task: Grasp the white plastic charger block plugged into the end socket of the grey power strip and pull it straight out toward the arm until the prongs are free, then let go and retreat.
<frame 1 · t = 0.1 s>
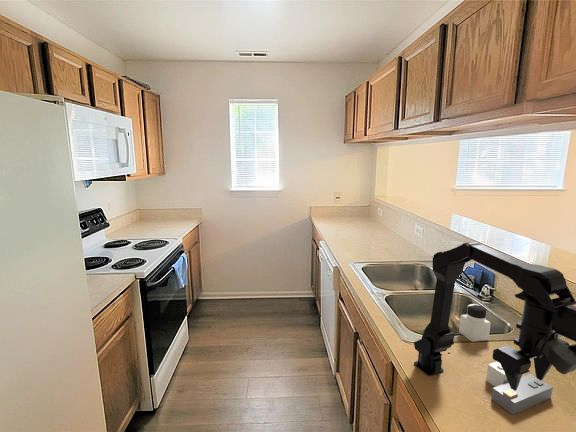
hand: (526, 384, 77), 15 cm above the worktop, fingers open, 9 cm apart
medicine bottle: (473, 336, 124), on the worktop
power strip: (521, 398, 93), on the worktop
charger: (498, 383, 99), on the worktop
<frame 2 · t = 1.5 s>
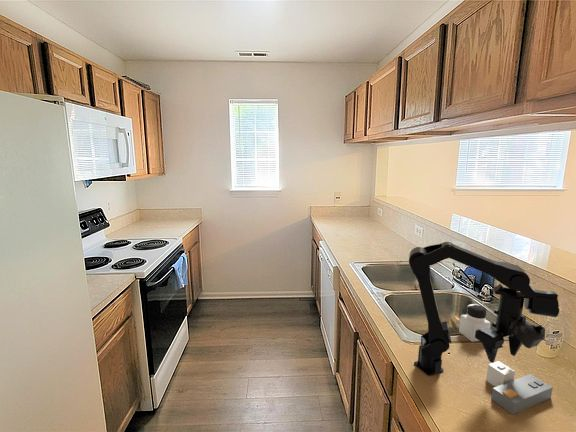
hand: (502, 358, 97), 8 cm above the worktop, fingers open, 9 cm apart
nothing on the worktop moved.
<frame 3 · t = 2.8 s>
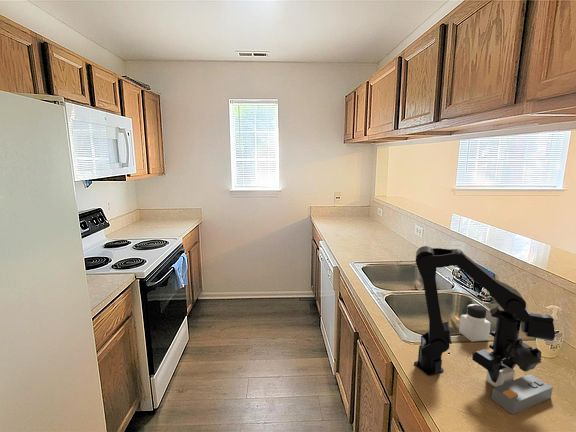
hand: (499, 379, 98), 1 cm above the worktop, fingers closed on charger, 4 cm apart
charger: (498, 383, 99), on the worktop, touching gripper
everything else where it was.
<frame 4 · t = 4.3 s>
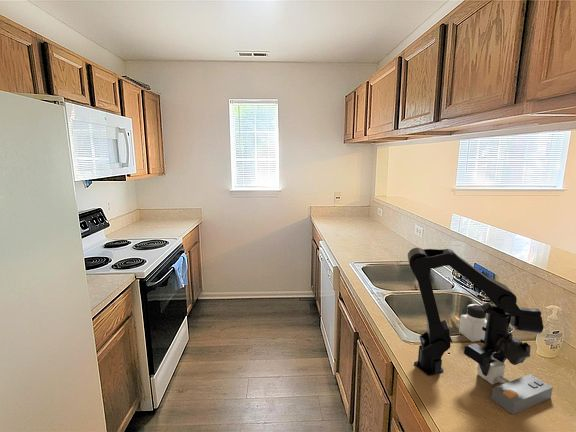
hand: (490, 373, 101), 1 cm above the worktop, fingers closed on charger, 4 cm apart
charger: (489, 377, 101), on the worktop, touching gripper
everything else where it was.
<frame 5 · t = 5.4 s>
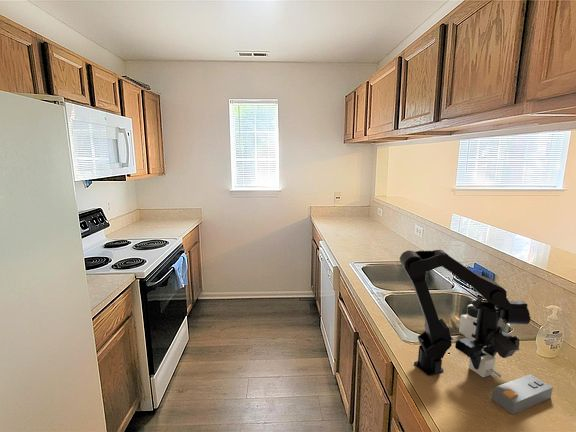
hand: (481, 366, 104), 2 cm above the worktop, fingers closed on charger, 4 cm apart
charger: (480, 370, 104), on the worktop, touching gripper
everything else where it was.
when the fingers open (2 cm above the worktop, at t = 6.0 s): charger stays where it is, on the worktop.
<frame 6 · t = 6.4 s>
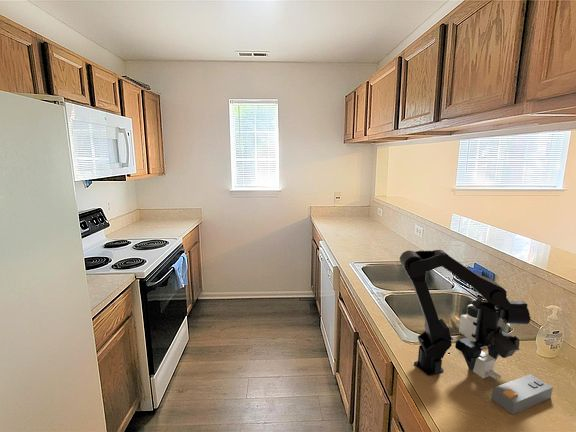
hand: (481, 366, 104), 2 cm above the worktop, fingers open, 9 cm apart
charger: (480, 371, 104), on the worktop
everything else where it was.
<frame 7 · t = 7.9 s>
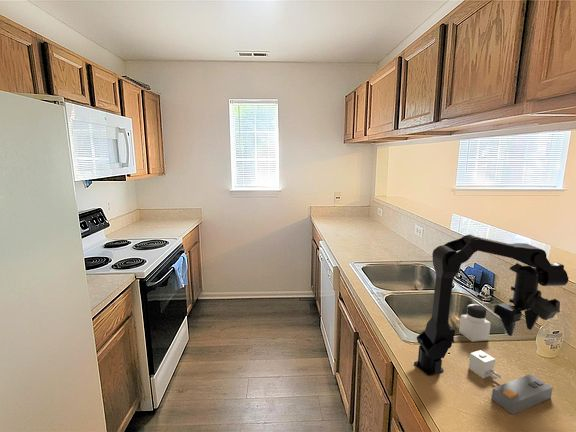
hand: (519, 332, 104), 12 cm above the worktop, fingers open, 9 cm apart
nothing on the worktop moved.
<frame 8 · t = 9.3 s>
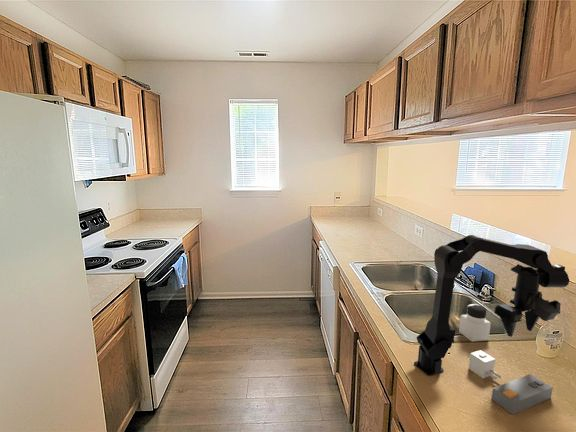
hand: (519, 333, 104), 12 cm above the worktop, fingers open, 9 cm apart
nothing on the worktop moved.
at the end: charger moved 6.0 cm from its start; charger touching worktop; the gripper is holding nothing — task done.
